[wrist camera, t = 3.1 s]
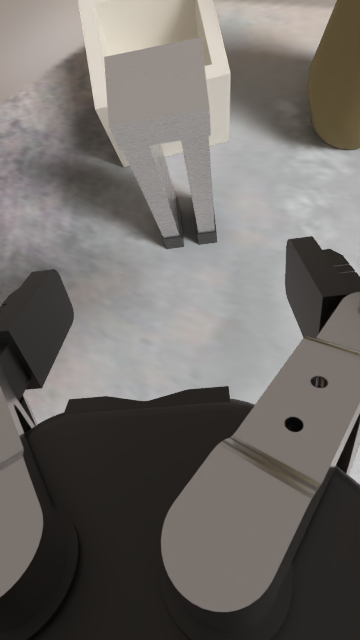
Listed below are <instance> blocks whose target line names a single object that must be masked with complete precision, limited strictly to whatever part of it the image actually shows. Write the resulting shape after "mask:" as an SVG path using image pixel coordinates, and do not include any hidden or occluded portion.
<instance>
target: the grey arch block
mask: <svg viewBox="0 0 360 640" xmlns="http://www.w3.org/2000/svg"><path fill="white" fill-rule="evenodd" d="M104 63H105V78H106V93H107V108H108V123H109V129H110V131H111V133H112V135H113V137H114V139H115V141H116V143H117V145H118V147H119V149H120V151H122V150H123V151H124V153H125V156H126V158H127V160H128V162H129V164H130V166H131V168H132V171H133V173H134V175H135V177H136V179H137V181H138V184H139V186H140V188H141V190H142V192H143V194H144V197H145V199H146V201H147V203H148V205H149V207H150V210H151V212H152V214H153V216H154V218H155V220H156V222H157V225H158V227H159V229H160V231H161V233H162V239H163V242H164V244H165V246H166V248H167V249H171V248H178V247H184V239H183V228H182V218H181V209H180V205H179V201H178V198H177V197H176V196H175V193H174V189H173V186H172V182H171V178H170V175H169V171H168V168H167V164H166V161H165V157H164V154H163V150H162V147H161V144H163V143H169V142H175V141H181V143H182V148H183V154H184V159H185V164H186V170H187V175H188V180H189V185H190V191H191V196H192V201H193V207H194V212H195V218H196V227H197V236H198V241H199V245H200V244H208V243H215V242H217V235H216V225H215V216H214V207H213V196H212V181H211V165H210V150H209V136H210V135H211V126H210V109H209V100H208V92H207V83H206V75H205V66H204V58H203V49H202V41H201V37H199V38H194V39H190V40H185V41H180V42H175V43H170V44H165V45H160V46H155V47H150V48H145V49H141V50H136V51H131V52H126V53H121V54H116V55H111V56H106V57H104Z"/></svg>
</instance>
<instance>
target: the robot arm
mask: <svg viewBox="0 0 360 640" xmlns="http://www.w3.org/2000/svg"><path fill="white" fill-rule="evenodd" d="M285 288H286V295H287V298H288V301H289V303H290V306H291V308H292V311H293V313H294V316H295V318H296V320H297V323H298V325H299V328H300V330H301V332H302V335H303V337H304V338H303V340H302V341H301V342H300V344H299V345H298V346H297V348H296V349H295V351H294V352H293V353H292V355H291V356H290V357H289V359H288V360H287V362H286V363H285V364H284V366H283V367H282V369H281V370H280V371H279V373H278V374H277V375H276V377H275V378H274V380H273V381H272V382H271V384H270V385H269V386H268V388H267V389H266V391H265V392H264V393H263V395H262V396H261V398H260V399H259V400H258V402H257V403H256V404H255V405H254V404H251V403H248V402H245V401H240V400H235V399H230V396H229V387H228V386H225V387H213V388H201V389H189V390H185V391H181V392H178V393H174V394H171V395H167V396H164V397H160V398H157V399H153V400H150V401H136V400H129V399H122V398H115V397H108V396H105V397H93V398H81V399H69V401H68V404H67V407H66V409H65V412H64V413H61V414H58V415H56V416H53V417H51V418H49V419H47V420H45V421H43V422H41V423H40V424H37V422H36V419H35V417H34V415H33V413H32V410H31V408H30V406H29V404H28V401H27V400H26V398H25V397H24V395H23V393H24V391H25V390H26V389H37V388H42V387H43V385H44V383H45V380H46V378H47V376H48V374H49V372H50V370H51V368H52V365H53V363H54V361H55V359H56V357H57V355H58V353H59V350H60V348H61V346H62V344H63V342H64V340H65V338H66V335H67V333H68V331H69V329H70V327H71V325H72V323H73V318H74V312H73V307H72V304H71V302H70V299H69V297H68V295H67V292H66V290H65V287H64V285H63V283H62V280H61V278H60V275H59V274H58V272H57V271H56V270H54V269H52V270H44V271H36V272H32V273H31V274H30V276H29V277H28V278H27V279H26V281H25V282H24V283H23V284H22V286H21V287H20V288H19V289H18V290H16V291H15V292H13V293H12V294H11V295H9V296H8V298H7V299H6V300H5V301H4V303H3V304H2V306H0V640H360V485H359V484H358V483H357V482H356V481H355V480H353V479H352V478H351V477H350V476H349V473H350V471H351V468H352V465H353V462H354V460H355V457H356V454H357V451H358V448H359V445H360V276H359V275H358V274H357V273H356V272H355V270H354V269H353V268H352V266H351V265H349V263H348V262H347V260H346V259H345V258H344V257H343V255H341V254H339V253H337V252H335V251H333V250H331V249H326V250H322V249H321V248H320V246H319V245H318V243H317V242H316V241H315V239H314V238H313V237H312V236H311V237H303V238H295V239H288V241H287V246H286V273H285Z"/></svg>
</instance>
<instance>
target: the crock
mask: <svg viewBox="0 0 360 640" xmlns="http://www.w3.org/2000/svg"><path fill="white" fill-rule="evenodd" d="M78 3H79V9H80V16H81V22H82V29H83V35H84V42H85V48H86V54H87V61H88V67H89V73H90V80H91V86H92V93H93V99H94V105H95V110H96V112H97V114H98V116H99V118H100V120H101V122H102V124H103V126H104V128H105V130H106V132H107V134H108V136H109V138H110V141H111V143H112V145H113V147H114V149H115V151H116V153H117V155H118V157H119V159H120V161H121V163H122V165H123V167H127V166H130V164H129V162H128V160H127V158H126V156H125V153H124V151H123V150H122V151H120V149H119V147H118V145H117V143H116V141H115V139H114V137H113V135H112V133H111V131H110V129H109V123H108V108H107V93H106V78H105V63H104V57H106V56H111V55H116V54H121V53H126V52H131V51H136V50H141V49H145V48H150V47H155V46H160V45H165V44H170V43H175V42H180V41H185V40H190V39H194V38H199V37H201V41H202V49H203V58H204V66H205V75H206V83H207V92H208V100H209V109H210V126H211V135H210V136H209V146H212V145H216V144H220V143H224V142H228V141H229V124H230V80H231V73H230V68H229V64H228V60H227V56H226V51H225V47H224V43H223V39H222V34H221V30H220V26H219V22H218V18H217V13H216V9H215V5H214V1H213V0H78ZM161 147H162V150H163V154H164V157H167V156H171V155H175V154H179V153H183V148H182V143H181V141H175V142H169V143H163V144H161Z"/></svg>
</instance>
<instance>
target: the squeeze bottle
mask: <svg viewBox="0 0 360 640" xmlns="http://www.w3.org/2000/svg"><path fill="white" fill-rule="evenodd" d="M308 95H309V103H310V112H311V121H312V124H313V126H314V129H315V131H316V134H317V135H318V136H319V137H321V138H322V139H323V140H324V141H325V142H326V143H327V144H330V145H332V146H335V147H337V148H339V149H359V148H360V0H337V2H336V4H335V7H334V9H333V12H332V14H331V17H330V19H329V22H328V24H327V26H326V29H325V31H324V34H323V36H322V39H321V41H320V44H319V46H318V49H317V51H316V53H315V56H314V58H313V61H312V63H311V66H310V68H309V80H308Z"/></svg>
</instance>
